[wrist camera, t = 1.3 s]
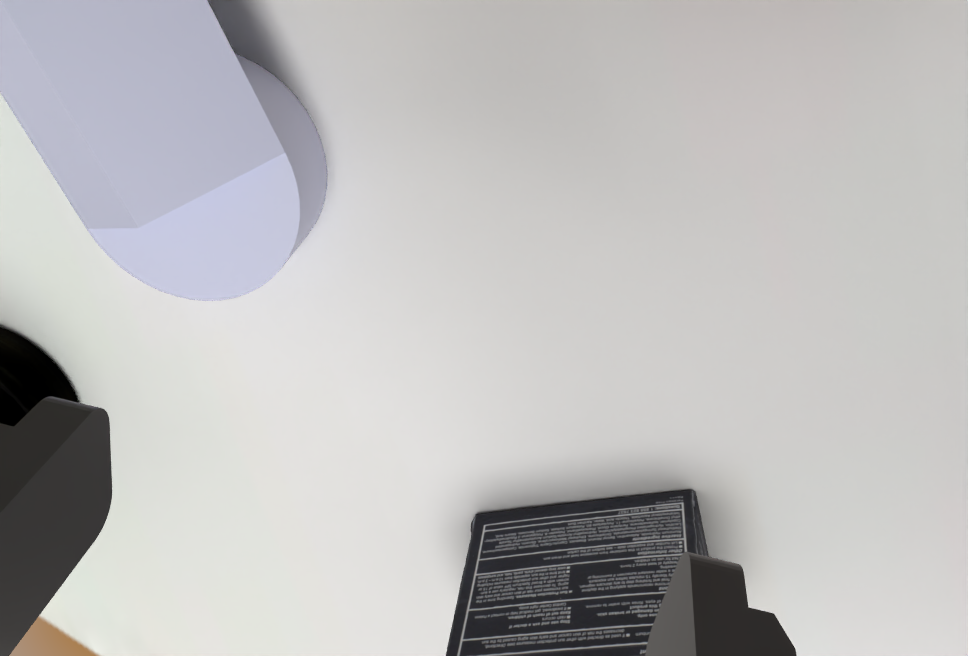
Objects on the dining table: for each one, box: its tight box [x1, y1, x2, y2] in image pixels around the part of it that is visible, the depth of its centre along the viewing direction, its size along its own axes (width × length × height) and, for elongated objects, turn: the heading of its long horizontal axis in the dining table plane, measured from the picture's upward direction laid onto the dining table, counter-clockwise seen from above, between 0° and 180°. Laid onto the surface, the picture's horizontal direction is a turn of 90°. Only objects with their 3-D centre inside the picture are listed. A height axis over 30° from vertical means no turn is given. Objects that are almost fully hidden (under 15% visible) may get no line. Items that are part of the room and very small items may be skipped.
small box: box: [446, 490, 709, 656], centre depth 39 cm, size 11×6×10 cm, turn 106°
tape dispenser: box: [0, 0, 327, 301], centre depth 33 cm, size 9×7×13 cm
